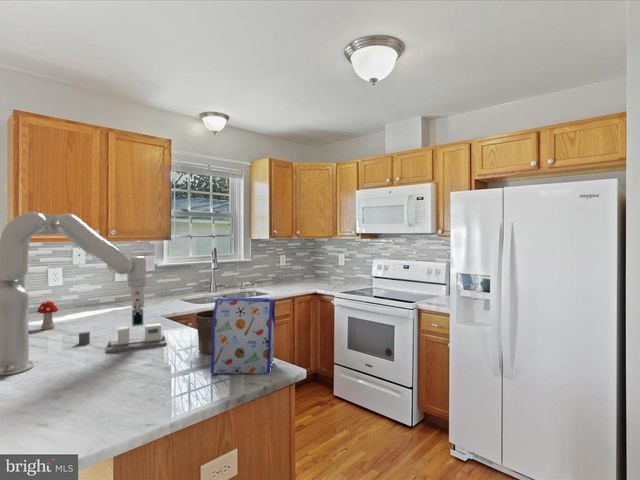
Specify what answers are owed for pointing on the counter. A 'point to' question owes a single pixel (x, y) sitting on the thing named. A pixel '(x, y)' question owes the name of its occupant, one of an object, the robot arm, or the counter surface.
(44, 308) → the decorative mushroom
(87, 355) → the counter surface
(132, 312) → the teal module
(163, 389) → the counter surface
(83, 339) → the grey rectangular block
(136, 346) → the board
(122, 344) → the metal rail
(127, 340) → the block
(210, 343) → the plant pot
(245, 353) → the lunch bag
